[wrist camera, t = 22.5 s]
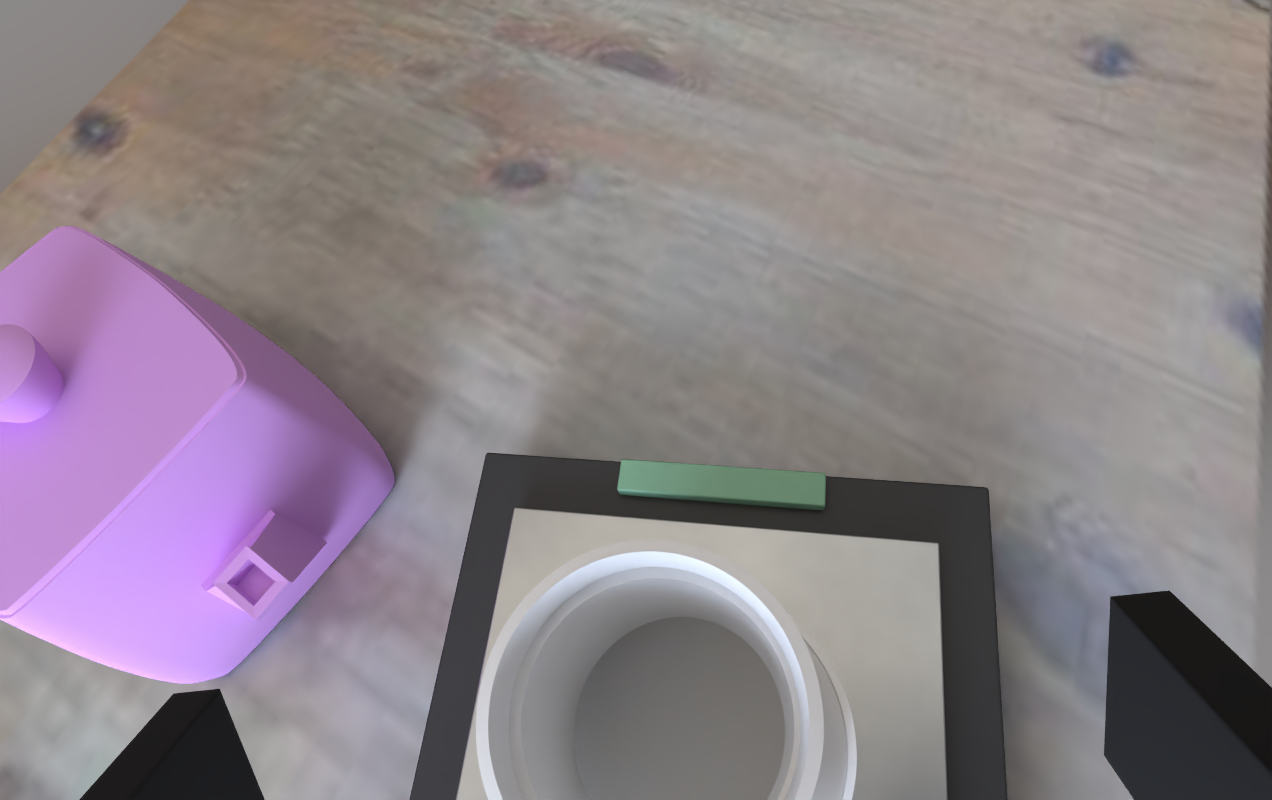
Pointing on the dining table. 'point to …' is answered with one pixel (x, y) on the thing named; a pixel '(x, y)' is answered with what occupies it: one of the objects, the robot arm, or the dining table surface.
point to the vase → (660, 687)
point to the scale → (791, 570)
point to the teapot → (161, 466)
